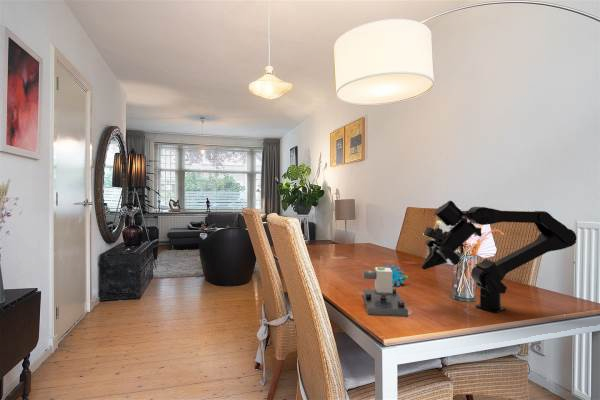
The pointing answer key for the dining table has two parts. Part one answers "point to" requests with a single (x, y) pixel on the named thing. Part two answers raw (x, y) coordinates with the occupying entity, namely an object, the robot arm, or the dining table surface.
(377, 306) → the base
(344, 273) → the dining table surface
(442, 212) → the robot arm
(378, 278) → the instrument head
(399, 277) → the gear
